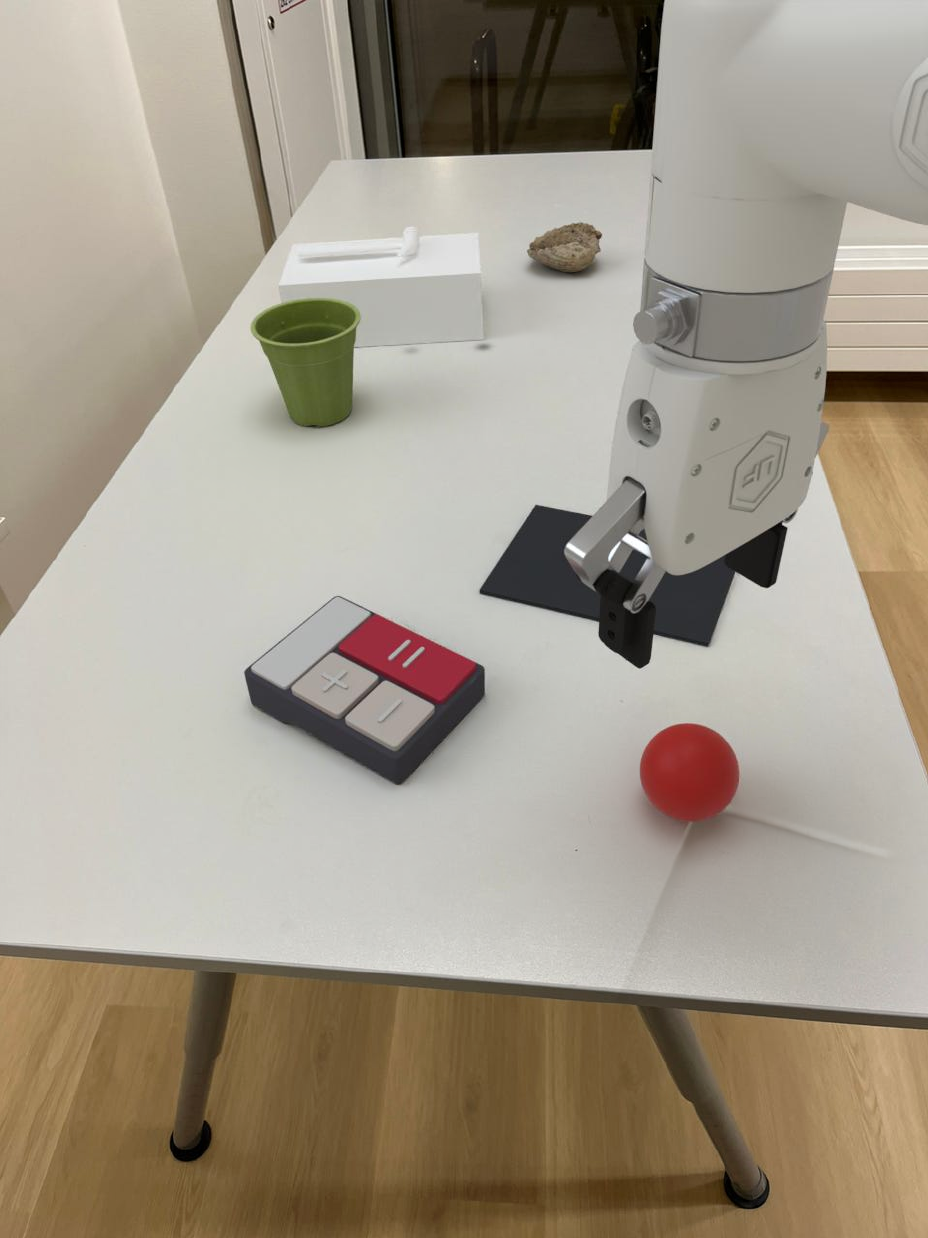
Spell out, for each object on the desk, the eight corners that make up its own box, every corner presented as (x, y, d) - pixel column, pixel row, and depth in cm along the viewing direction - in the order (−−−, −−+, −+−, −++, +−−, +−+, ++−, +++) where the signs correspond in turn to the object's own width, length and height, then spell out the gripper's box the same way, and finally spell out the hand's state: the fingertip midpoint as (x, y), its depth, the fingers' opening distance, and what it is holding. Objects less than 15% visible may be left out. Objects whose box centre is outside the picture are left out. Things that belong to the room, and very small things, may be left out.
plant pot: (249, 427, 108) (227, 333, 101) (308, 382, 116) (292, 291, 108) (335, 448, 103) (319, 350, 96) (391, 399, 111) (381, 306, 104)
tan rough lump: (540, 274, 145) (510, 267, 137) (545, 224, 143) (515, 214, 135) (609, 277, 140) (582, 270, 132) (614, 225, 138) (588, 215, 130)
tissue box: (483, 339, 122) (480, 253, 115) (290, 351, 123) (274, 266, 116) (480, 295, 133) (477, 214, 126) (303, 306, 134) (289, 226, 127)
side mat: (743, 548, 86) (744, 544, 86) (708, 646, 76) (708, 643, 76) (535, 507, 93) (535, 504, 92) (479, 593, 83) (479, 589, 83)
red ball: (741, 781, 66) (754, 717, 62) (721, 853, 62) (734, 790, 57) (650, 756, 68) (657, 693, 64) (625, 824, 64) (630, 761, 60)
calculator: (396, 753, 65) (239, 664, 71) (399, 792, 68) (248, 703, 74) (487, 659, 71) (335, 586, 78) (487, 699, 74) (341, 624, 81)
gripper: (651, 402, 34) (622, 729, 45) (932, 271, 41) (847, 579, 53) (515, 336, 39) (520, 647, 50) (790, 229, 46) (740, 520, 57)
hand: (688, 612), depth 51 cm, fingers open, 9 cm apart
